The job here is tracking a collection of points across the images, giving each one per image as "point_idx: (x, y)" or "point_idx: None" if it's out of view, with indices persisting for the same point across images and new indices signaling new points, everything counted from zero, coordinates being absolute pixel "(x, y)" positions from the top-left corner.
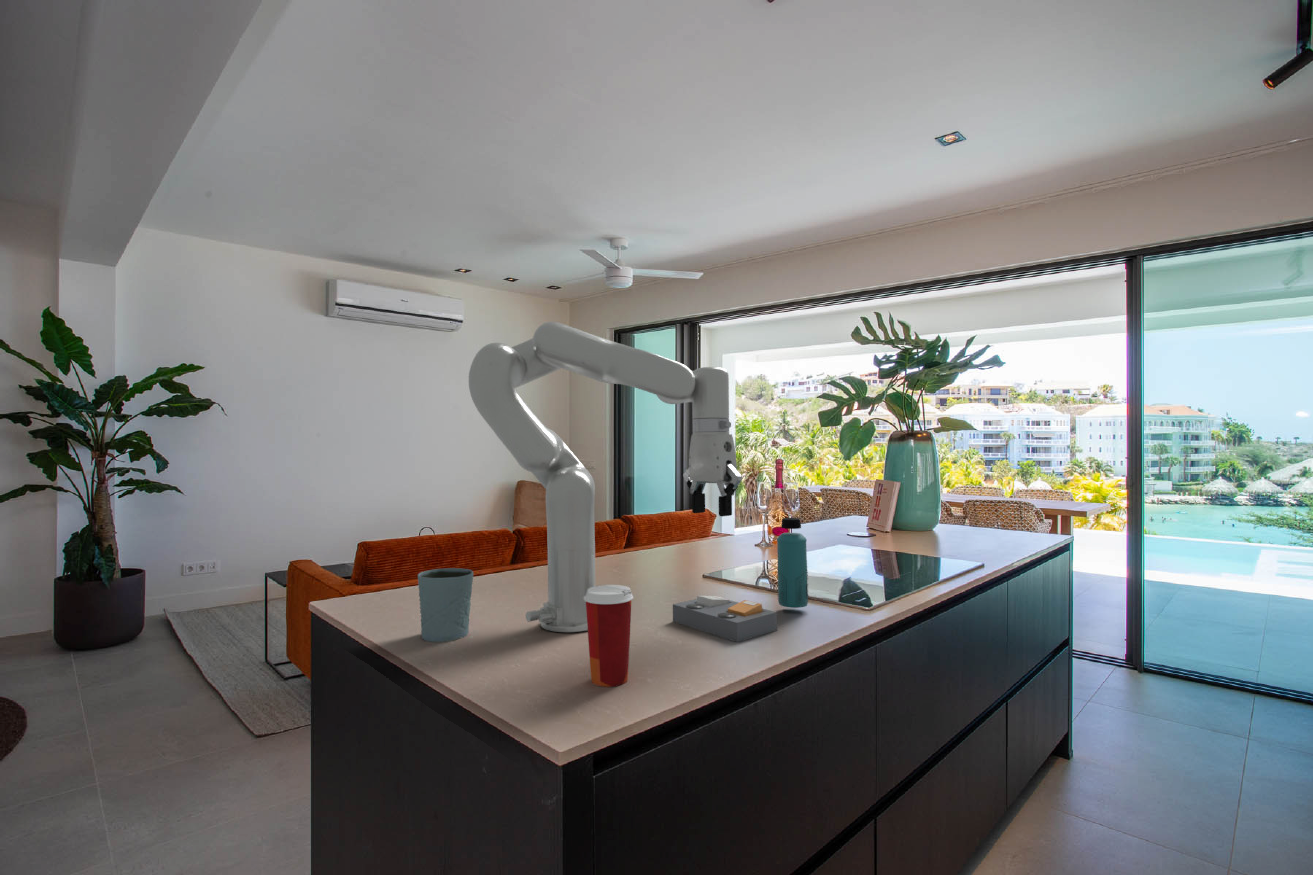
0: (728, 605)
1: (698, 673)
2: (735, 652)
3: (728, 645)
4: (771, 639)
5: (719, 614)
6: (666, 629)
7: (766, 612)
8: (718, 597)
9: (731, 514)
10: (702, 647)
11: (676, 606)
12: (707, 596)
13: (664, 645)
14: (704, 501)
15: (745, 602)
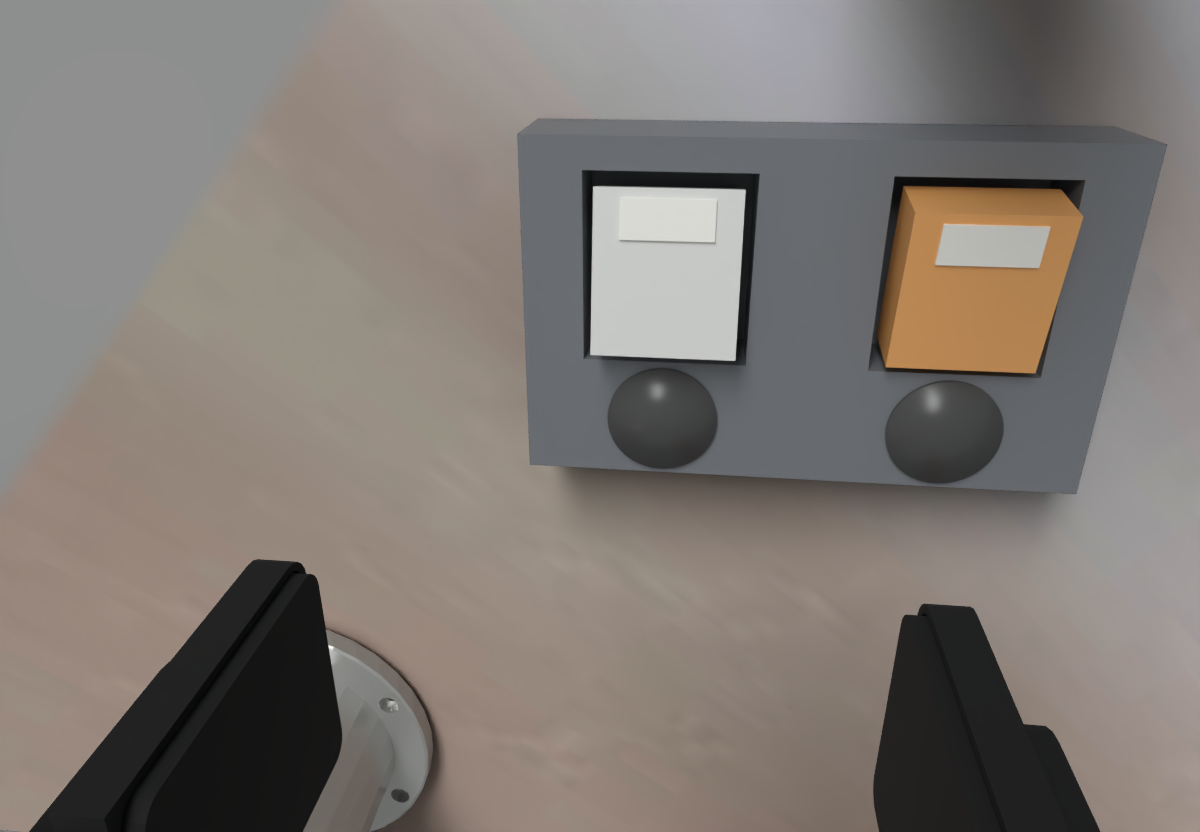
0: (792, 251)
1: (1130, 788)
2: (1119, 554)
3: (1032, 506)
4: (1173, 290)
5: (899, 453)
6: (632, 527)
7: (1107, 203)
8: (673, 231)
9: (971, 615)
10: (951, 596)
11: (563, 462)
12: (618, 285)
13: (803, 672)
14: (230, 703)
15: (952, 252)
